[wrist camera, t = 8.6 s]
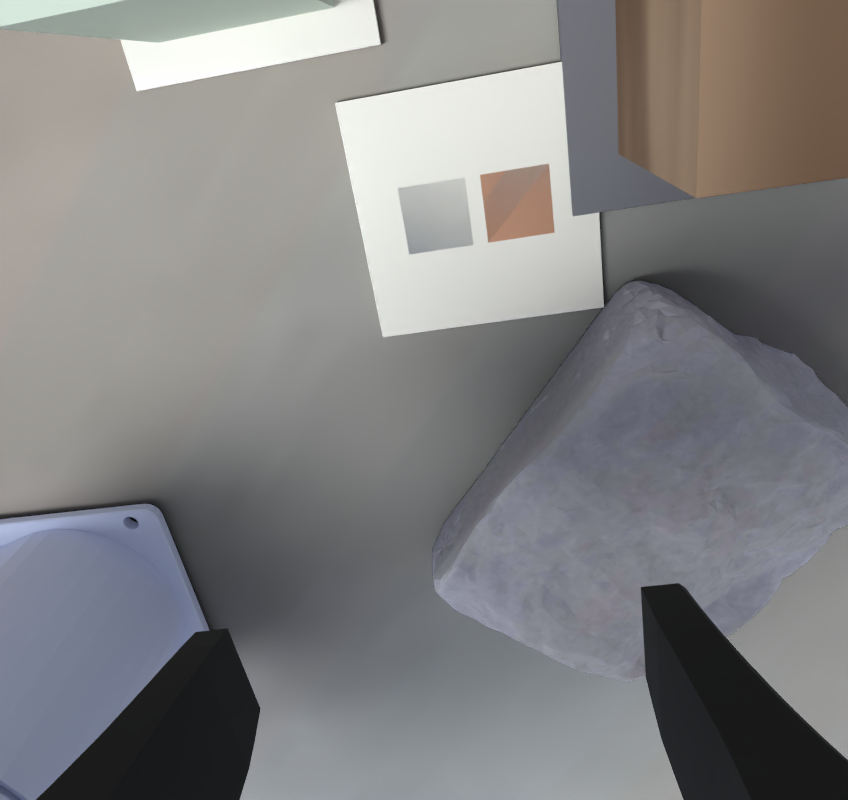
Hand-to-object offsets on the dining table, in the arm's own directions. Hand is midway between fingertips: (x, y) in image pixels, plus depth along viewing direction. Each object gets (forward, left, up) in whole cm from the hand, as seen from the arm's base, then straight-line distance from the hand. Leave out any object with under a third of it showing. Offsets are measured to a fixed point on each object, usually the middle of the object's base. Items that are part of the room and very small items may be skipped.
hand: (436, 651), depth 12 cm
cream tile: (+2, +6, -10) cm, 12 cm away
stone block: (+6, -4, -11) cm, 13 cm away
